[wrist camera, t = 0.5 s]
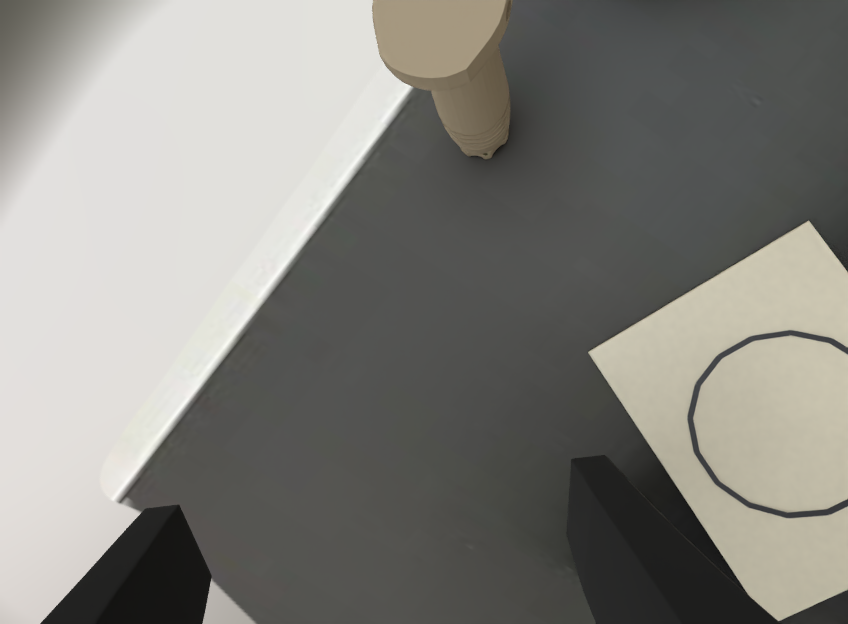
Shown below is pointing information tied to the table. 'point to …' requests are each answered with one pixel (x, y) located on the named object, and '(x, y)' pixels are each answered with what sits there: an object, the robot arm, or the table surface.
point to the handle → (452, 63)
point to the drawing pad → (753, 414)
